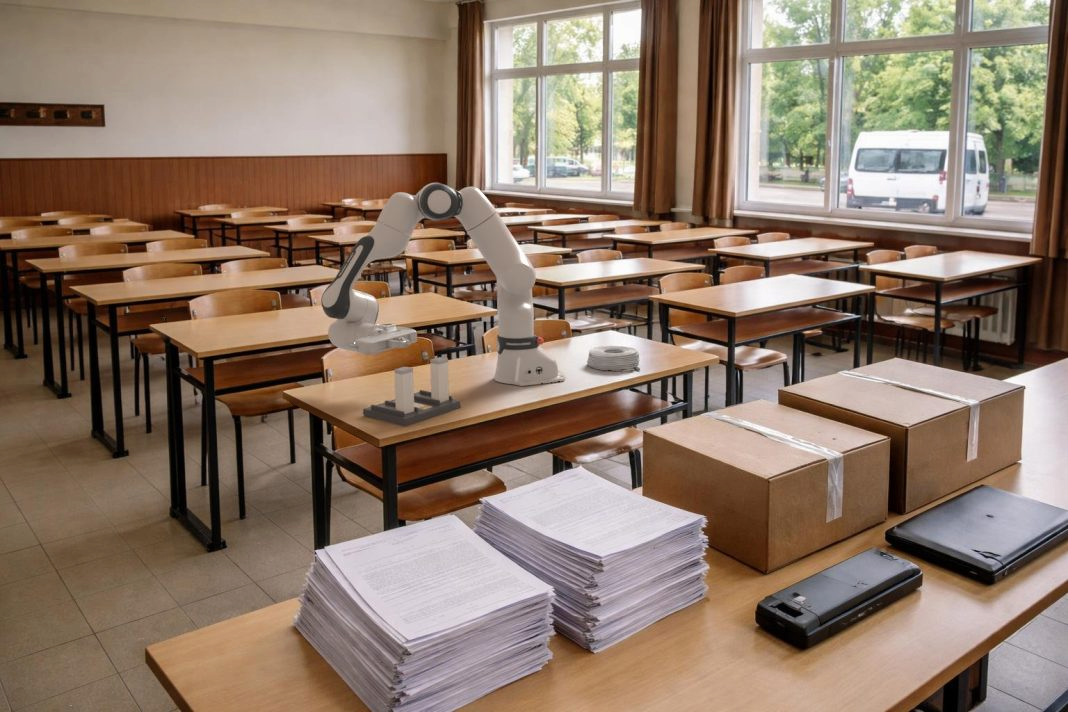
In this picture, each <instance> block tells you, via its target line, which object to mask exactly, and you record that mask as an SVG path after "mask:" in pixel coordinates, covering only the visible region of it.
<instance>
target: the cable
mask: <svg viewBox="0 0 1068 712" xmlns="http://www.w3.org/2000/svg"><path fill="white" fill-rule="evenodd" d="M586 363H587V365H588V366H589V367H591V368H593V369H596V370H600V371H608V370H611V371H610V372H619V371H624V372H623V373H631V372H633V371H635V370H636V371H637V372H639V371H640V370H641V368H640V367H639V364H640V351H639V350H638V349H637V348H634V347H630V346H625V345H624V346H622V345H601V346H596V347H592V348H591V349H589V350H588V357H587V361H586Z"/></svg>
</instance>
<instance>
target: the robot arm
mask: <svg viewBox="0 0 1068 712" xmlns="http://www.w3.org/2000/svg"><path fill="white" fill-rule="evenodd" d="M452 217H455V218H456V219H457V220H458V221H459V222H460V223H461V225H462V227H463V228H464V231H466V233H467V234H468V236H469V238H470V239H471V240H472V242H473V243H474V245H475V246H476V248H477V250H478V251H479V253H480V254H481V256H482V257H483V259H484V261H486V264H487V265H488V266H489V268H490V269H491V271H492V272H493V274H494V275H495V277H496V293H497V294H496V295H497V296H496V297H497V310H498V313H497V314H498V315H497V316H498V319H497V321H498V325H497V326H498V334H497V336H496V338H497V339H496V352H497V362H496V367H495V373H494V375H493V379H494V381H496V382H498V383H503V384H507V385H508V384H509V385H514V386H520V387H526V386H534V385H541V383H543V384H550V383H551V382H552V383H558V381H560V382H564V381H565V380H566V376H565V373H564V372H562V371H561V370H559V368H558V362H557V360H556V358H555V357H554V356H553V355H552V354H551V353H549V352H548V351H546V350H545V349H544V348H542V347H541V346H540V345H544V343H545V341H544V338H543V337H540V336H538V335H536V334H534V333H535V332H534V330H535V329H534V327H535V326H534V325H535V324H534V323H535V322H534V320H535V318H534V317H535V316H534V315H535V314H534V313H535V312H534V301H533V287H534V285H535V284H536V279H537V274H536V270H535V268H534V265H533V264H532V263H531V261H530V260H529V258H528V257H527V255H526V254H525V253H524V251H523V249H522V248H521V246H520V244H519V243H518V241H517V240H516V239H515V237H514V236H513V235H512V233H511V231H510V230H509V228H508V227H507V225H506V224H505V222H504V220H503V219H502V217H501V216H500V213H499V212H498V211H497V209H496V208H495V206H494V205H493V204H492V202H491V201H490V200H489V198H488V197H487V196H486V195H485V194H484V193H483V192H482V191H481V190H480V189H479V188H478V187H475V186H467V187H463V188H461V189H460V190H457V189H454V188H452V187H451V186H449V185H446V184H443V183H441V182H431V183H428V184H426V185H425V186H423V187H422V188H421V189H419V190H418V191H417V192H415V193H414V194H410V193H407V192H404V191H403V192H401V191H400V192H394V193H393V194H392V195H391V196H390V198H389V199H388V200H387V201H386V203H385V205H384V206H383V208H382V210H381V212H380V213H379V216H378V217H377V220H376V223H375V224H374V226H373V227H372V228H371V230H370V231H369V233H368V234H367V235H365V236H363V237H361V238H359V240H358V241H357V242H356V244H355V245H354V246H353V248H352V250H351V251H350V253H349V255H347V258H346V259H345V261H344V262H343V264H342V266H341V268H340V269H339V270H338V272H337V274H336V275H335V277H334V279H333V280H332V282H330V284H329V285H328V286H327V287H326V289H325V290H324V291H323V293H322V296H321V301H320V302H321V307H322V311H323V313H324V314H325V315H326V316H327V317H328V318H331V319H336V320H335V321H332V323H330V325H329V327H328V331H327V335H328V339H329V340H330V343H331V344H333V346H335V347H336V348H339V349H342V350H344V351H351V352H357V353H359V354H363V355H378V354H380V353H382V352H385V351H389V350H392V349H396V348H399V349H403V348H407V347H410V345H411V344H414V343H417V342H418V332H417V330H415V329H413V328H409V327H405V326H396V324H395V323H386V324H385V323H384V324H378V323H377V320H378V316H379V312H380V311H379V309H380V307H379V303H378V300H377V298H376V297H375V295H372V294H369V293H368V292H367V293H366V292H364V291H359V290H357V289H354V286H355V285H356V283H357V282H358V280H359V278H360V277H361V275H362V273H363V271H364V269H365V268H366V266H367V265H369V264H370V263H371V262H373V261H376V260H381V259H391V258H394V257H397V256H399V255H401V254H402V253H403V252H404V251H405V250H406V248H407V246H408V245H409V243H410V240H411V237H412V235H413V233H414V231H415V229H416V227H417V224H418V223H419V222H421V220H423V219H428V220H431V221H442V220H446V219H450V218H452Z"/></svg>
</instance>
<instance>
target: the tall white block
mask: <svg viewBox="0 0 1068 712" xmlns="http://www.w3.org/2000/svg"><path fill="white" fill-rule="evenodd" d="M429 362H430V392H431V399H435V400H440V403H441V402H444V401H447V400H449V396H450V392H449V391H450V389H449V387H450V386H449V385H450V383H449V380H450V379H449V358H447V357H441V356H439V357H434V358H432V359H431V358H430V361H429Z"/></svg>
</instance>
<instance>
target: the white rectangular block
mask: <svg viewBox="0 0 1068 712" xmlns="http://www.w3.org/2000/svg"><path fill="white" fill-rule="evenodd" d="M393 372H394V396H395V397H394V398H395V402H396V410H398V411H403V412H404V414H407V413H410V412H413V411H414V392H415V390H414V368H413V367H410V366H402V367H398V368H394V371H393Z"/></svg>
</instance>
